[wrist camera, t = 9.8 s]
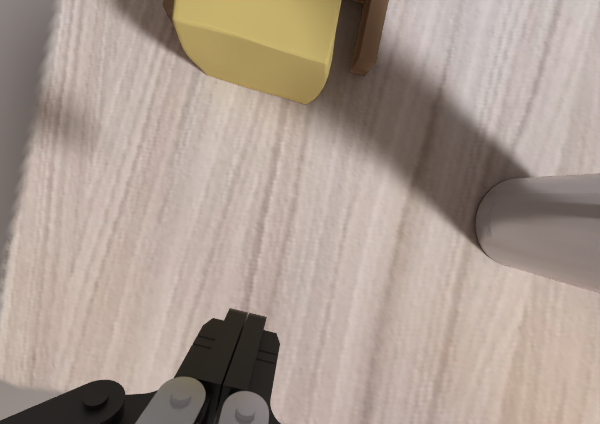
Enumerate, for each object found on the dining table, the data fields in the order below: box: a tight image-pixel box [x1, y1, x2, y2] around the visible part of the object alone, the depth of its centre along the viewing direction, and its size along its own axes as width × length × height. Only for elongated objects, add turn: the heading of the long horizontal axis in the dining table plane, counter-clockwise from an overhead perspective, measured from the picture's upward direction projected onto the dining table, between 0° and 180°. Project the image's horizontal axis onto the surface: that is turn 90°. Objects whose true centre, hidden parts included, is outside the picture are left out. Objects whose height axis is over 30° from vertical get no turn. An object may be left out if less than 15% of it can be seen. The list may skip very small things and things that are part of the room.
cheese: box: [172, 0, 342, 104], centre depth 24 cm, size 10×11×10 cm
